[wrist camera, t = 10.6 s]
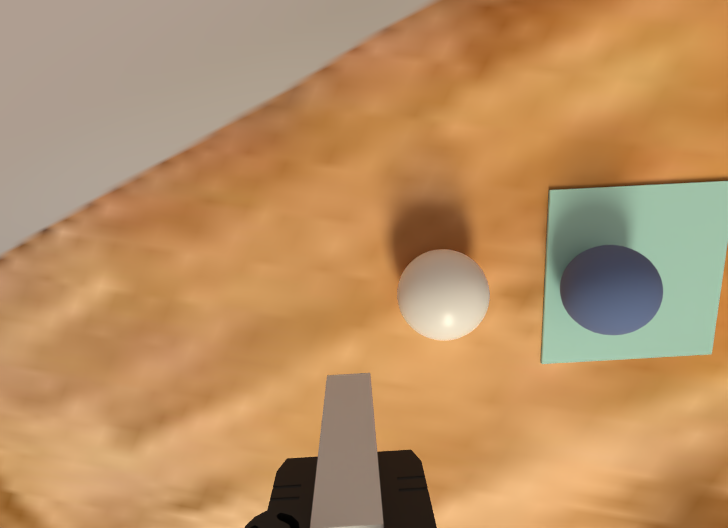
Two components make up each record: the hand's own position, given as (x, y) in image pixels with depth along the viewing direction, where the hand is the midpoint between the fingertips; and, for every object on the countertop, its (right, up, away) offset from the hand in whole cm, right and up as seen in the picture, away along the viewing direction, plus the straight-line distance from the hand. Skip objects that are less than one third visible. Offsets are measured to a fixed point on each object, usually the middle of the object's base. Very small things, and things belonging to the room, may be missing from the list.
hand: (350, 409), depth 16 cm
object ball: (+15, +4, +12) cm, 20 cm away
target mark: (+19, +4, +14) cm, 24 cm away
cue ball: (+5, +3, +11) cm, 13 cm away
